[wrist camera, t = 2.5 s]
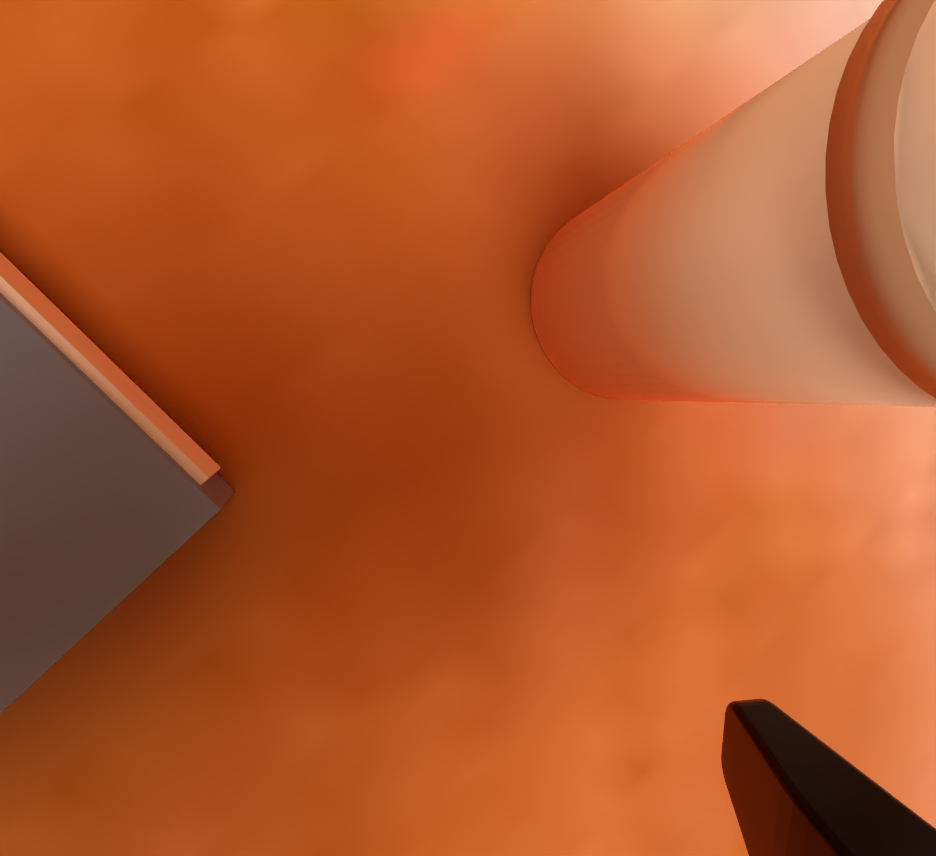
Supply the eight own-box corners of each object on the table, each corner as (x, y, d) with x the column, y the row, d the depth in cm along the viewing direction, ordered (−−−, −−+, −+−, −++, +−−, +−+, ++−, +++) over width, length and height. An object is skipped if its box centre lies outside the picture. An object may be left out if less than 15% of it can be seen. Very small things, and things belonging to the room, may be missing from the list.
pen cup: (746, 348, 22) (1346, 285, 9) (581, 443, 21) (999, 521, 8) (664, 163, 21) (1201, -188, 8) (487, 253, 20) (792, 9, 7)
